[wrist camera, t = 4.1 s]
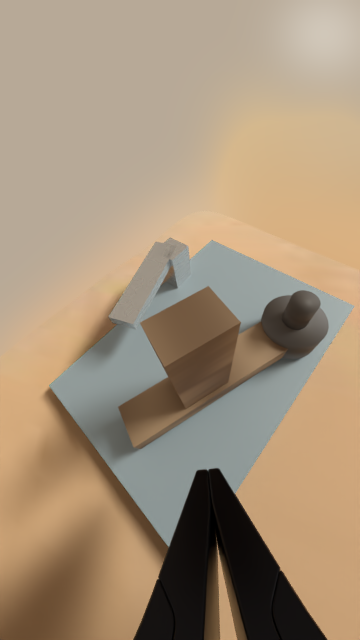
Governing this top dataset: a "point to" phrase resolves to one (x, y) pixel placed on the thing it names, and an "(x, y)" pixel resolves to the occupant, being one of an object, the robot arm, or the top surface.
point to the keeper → (151, 281)
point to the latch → (215, 355)
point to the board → (211, 422)
